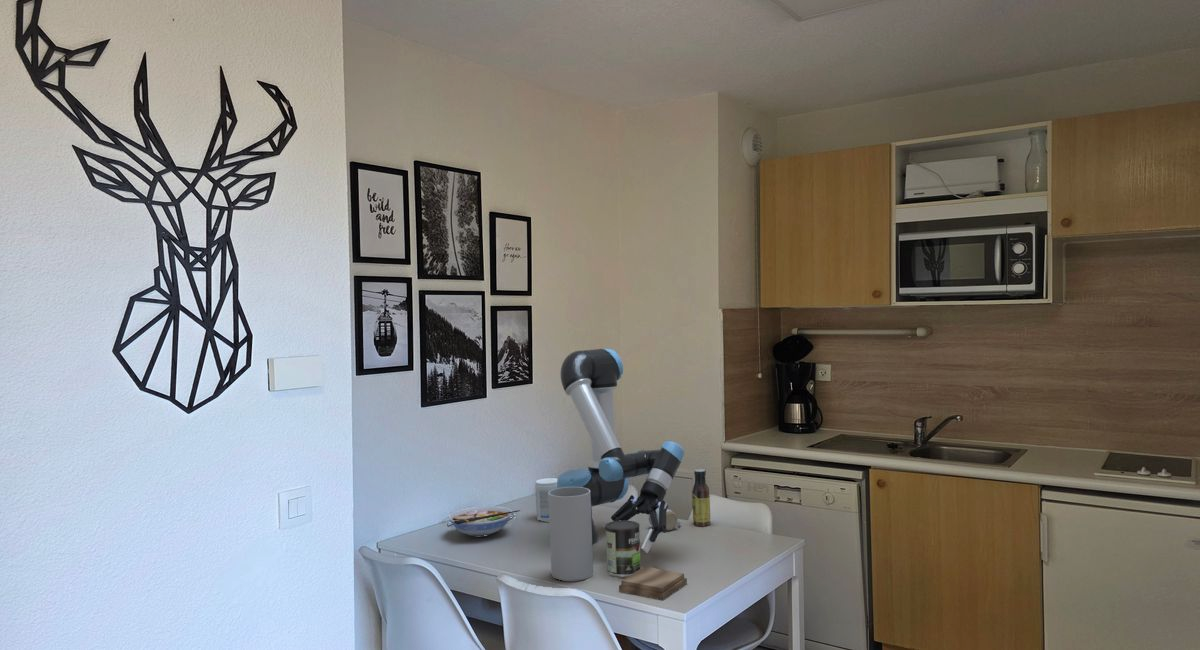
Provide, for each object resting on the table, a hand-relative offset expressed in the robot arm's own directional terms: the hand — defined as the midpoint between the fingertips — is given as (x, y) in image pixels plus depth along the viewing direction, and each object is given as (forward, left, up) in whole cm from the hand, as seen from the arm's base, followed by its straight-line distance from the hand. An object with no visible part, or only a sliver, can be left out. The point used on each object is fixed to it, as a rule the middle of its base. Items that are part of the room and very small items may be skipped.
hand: (626, 546), depth 235 cm
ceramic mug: (-12, +46, -8) cm, 48 cm away
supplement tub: (-57, +37, -8) cm, 69 cm away
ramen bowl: (-67, +10, -8) cm, 68 cm away
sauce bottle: (-2, +55, -8) cm, 56 cm away
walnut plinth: (+13, -8, -8) cm, 17 cm away
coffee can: (-1, 0, -8) cm, 8 cm away
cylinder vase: (-13, -10, -8) cm, 18 cm away
